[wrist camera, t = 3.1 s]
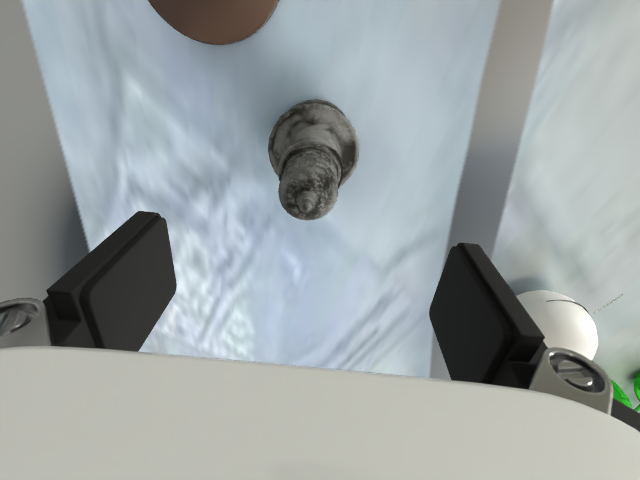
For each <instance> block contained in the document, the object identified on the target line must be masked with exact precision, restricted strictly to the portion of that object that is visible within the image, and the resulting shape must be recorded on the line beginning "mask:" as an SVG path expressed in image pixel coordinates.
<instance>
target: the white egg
mask: <svg viewBox="0 0 640 480" xmlns="http://www.w3.org/2000/svg"><path fill="white" fill-rule="evenodd" d="M622 295H623V294H622ZM622 295H620V296H619V297H621V296H622ZM516 297H517V298H518V300H519V301H520V303H521V304H522V305H523V307H524V308H525V310H526V311H527V312H528V314H529V315H530V316H531V318H532V319H533V321H534V322H535V323H536V325H537V326H538V328H539V329H540V330H541V332H542V333H543V335H544V336H545V338H544V340H543V341H544V343H545V344H546V346H547V347H548V348H552V347H561V348H565V349H569V350H572V351H575V352H577V353H579V354H581V355H583V356H585V357H586V358H588V359H590V360H591V361H592V360H593V357H594V355H595V353H596V350H597V347H598V337H597V331H596V326H595V323H594V322H593V320H592V319H591V317H590V315H589V313H588V311H587V310H586V309H585V308H584V307H583V306H582V305H580V304H578V303H577V302H575V301H574V300H573V299H571V298H569V297H567V296H564V295H562V294H559V293H556V292H552V291H546V290H537V291H529V292H525V293H522V294H519V295H517V296H516ZM619 297H617V298H616V299H618V298H619ZM616 299H614V300H613V301H615V300H616ZM613 301H611V302H610V303H612V302H613ZM610 303H608V304H610ZM608 304H606V305H605V306H607V305H608ZM605 306H604V307H605ZM604 307H602V308H601V309H603V308H604ZM601 309H599V310H601ZM599 310H597V311H596V312H598V311H599ZM596 312H594V313H596Z"/></svg>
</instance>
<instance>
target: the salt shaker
mask: <svg viewBox="0 0 640 480" xmlns="http://www.w3.org/2000/svg"><path fill="white" fill-rule="evenodd" d="M268 152H269V158H270V162H271V164H272V167H273V169H274V171H275V173H276V174H277V175H278V177H279V180H280V184H279V191H278V192H279V199H280V202H281V204H282V206H283V208H284V209H285V210H286V211H287V213H289V214H290V215H292V216H293V217H295V218H298V219H301V220H315V219H318V218H321V217H323V216H325V215H326V214H328V212H329V211H330V210H331V209H332V208H333V206H334V204H335V203H336V201H337V197H338V189H339V187H340V186H341V185H343V184H344V183H345V182H346V181H347V179H348V178H349V177H350V176H351V175H352V173H353V171H354V169H355V167H356V165H357V161H358V157H359V142H358V138H357V135H356V132H355V129H354V128H353V126H352V125H351V123H350V121H349V120H348V119H347V118H346V117H345V115H344V114H343V112H342V111H340V110H339V109H338V108H337V107H336V106H335V105H333V104H331V103H329V102H326V101H321V100H307V101H305V102H302V103H299V104H297V105H296V106H295V107H293V108H292V109H290V110H289V111H288V112H286V113H285V114H284V115H283V116H281V117H280V119H279V120H278V121H277V123H276V124H275V125H274V127H273V130H272V132H271V135H270V137H269V146H268Z"/></svg>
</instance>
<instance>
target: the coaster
mask: <svg viewBox="0 0 640 480" xmlns="http://www.w3.org/2000/svg"><path fill="white" fill-rule="evenodd" d="M148 1H149V2H150V4H151V5H152V7H153V8H154V9H155V10H156V12H157V13H158V14H159V15H160V16H161V17H162V18H163V19H164V20H165V21H166V22H167V23H168V24H169V25H171V26H172V27H173V28H174V29H176V30H177V31H179V32H180V33H182V34H183V35H185V36H187V37H189V38H191V39H193V40H196V41H199V42H202V43H207V44H216V45H224V44H232V43H236V42H239V41H242V40H244V39H246V38H248V37H250V36H252V35H253V34H254V33H256V32H257V31H258V30H259V29H260V28H262V27H263V26H264V24H265V23H266V22H267V21H268V20H269V18H270V17H271V15H272V14H273V12H274V10H275V9H276V6H277V4H278V2H279V0H148Z"/></svg>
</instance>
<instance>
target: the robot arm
mask: <svg viewBox="0 0 640 480" xmlns="http://www.w3.org/2000/svg"><path fill="white" fill-rule="evenodd" d="M46 291H47V293H48V295H49V296H48V297H47V298H46V299H45V300H43V301H42V302H41V301H39V300H38V299H33V298H18V299H12V300H8V301H4V302H1V303H0V480H640V413H638V412H636V411H635V410H633V409H631V408H630V407H628V406H626V405H625V404H623V403H621V402H619V401H618V400H616V399H614V398H613V384H612V382H611V380H610V379H609V377H608V375H607V374H606V373H605V372H604V371H603V370H602V369H601V368H600V367H599V366H598V365H596V364H595V363H594V362H593V361H591V360H590V359H588V358H586V357H585V356H583V355H581V354H579V353H577V352H575V351H572V350H569V349H565V348H561V347H552V348H548V347H547V346H546V344H545V343H544V341H543V340H544V338H545V336H544V335H543V333H542V332H541V330H540V329H539V328H538V326H537V325H536V323H535V322H534V321H533V319H532V318H531V316H530V315H529V314H528V312H527V311H526V310H525V308H524V307H523V305H522V304H521V303H520V301H519V300H518V298H517V297H516V296H515V294H514V293H513V291H512V290H511V289H510V287H509V286H508V285H507V283H506V282H505V280H504V279H503V278H502V276H501V275H500V273H499V272H498V271H497V269H496V268H495V267H494V265H493V264H492V262H491V261H490V260H489V258H488V257H487V255H486V254H485V253H484V251H483V250H482V248H481V247H480V246H479V245H478V244H469V243H459V244H458V245H457V246H456V247H455V246H453V247H452V248H451V250H450V252H449V255H448V258H447V261H446V263H445V266H444V269H443V272H442V275H441V278H440V281H439V283H438V286H437V289H436V292H435V295H434V298H433V301H432V303H431V306H430V311H429V315H430V320H431V323H432V326H433V328H434V331H435V334H436V337H437V340H438V342H439V346H440V348H441V351H442V354H443V357H444V359H445V363H446V365H447V368H448V371H449V374H450V377H451V380H444V379H435V378H424V377H414V376H404V375H393V374H383V373H372V372H362V371H352V370H341V369H330V368H319V367H308V366H297V365H286V364H275V363H264V362H253V361H242V360H230V359H219V358H207V357H195V356H183V355H172V354H160V353H148V352H138V351H139V350H140V348H141V346H142V345H143V343H144V342H145V340H146V338H147V337H148V335H149V334H150V332H151V331H152V329H153V327H154V326H155V324H156V323H157V321H158V319H159V318H160V316H161V315H162V313H163V312H164V310H165V308H166V307H167V305H168V304H169V302H170V300H171V299H172V297H173V296H174V294H175V291H176V278H175V272H174V266H173V259H172V253H171V247H170V241H169V235H168V229H167V223H166V220H165V218H161V216H160V214H159V213H154V212H144V211H138V212H137V213H135V214H134V215H133V216H132V217H131V218H130V219H128V220H127V221H126V222H125V223H124V224H123V225H122V226H120V227H119V228H118V229H117V230H116V231H115V232H113V233H112V234H111V235H110V236H109V237H108V238H106V239H105V240H104V241H103V242H102V243H101V244H100V245H98V246H97V247H96V248H95V249H94V250H93V251H91V252H90V253H89V254H88V255H87V256H86V257H84V259H82V260H81V261H80V262H79V263H78V264H76V265H75V266H74V267H73V268H72V269H71V270H69V271H68V272H67V273H66V274H65V275H64V276H63V277H61V278H60V279H59V280H58V281H57V282H56V283H54V284H53V285H52V286H51V287H50V288H49V289H47V290H46Z"/></svg>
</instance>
